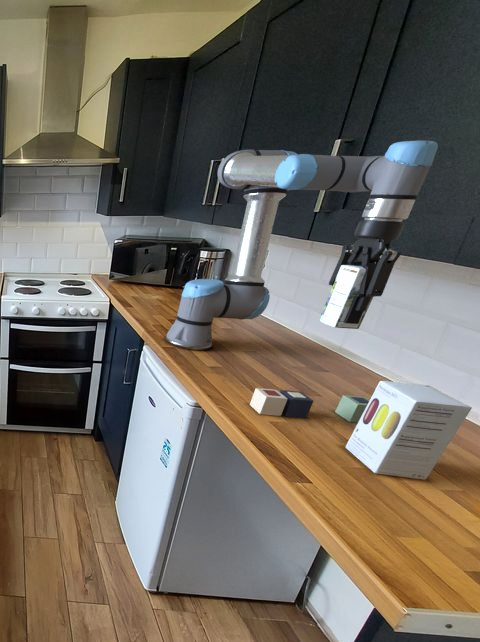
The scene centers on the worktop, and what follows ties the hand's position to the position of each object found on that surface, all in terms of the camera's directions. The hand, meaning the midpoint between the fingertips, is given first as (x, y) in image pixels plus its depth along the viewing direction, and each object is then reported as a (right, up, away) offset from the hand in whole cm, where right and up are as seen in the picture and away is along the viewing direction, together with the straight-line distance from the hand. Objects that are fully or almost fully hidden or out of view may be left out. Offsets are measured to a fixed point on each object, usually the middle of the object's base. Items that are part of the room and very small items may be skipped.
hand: (340, 319), depth 99 cm
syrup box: (0, -2, +1) cm, 2 cm away
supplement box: (-5, -32, -15) cm, 36 cm away
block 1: (-16, -23, +4) cm, 28 cm away
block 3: (+5, -25, +2) cm, 25 cm away
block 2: (-10, -23, +4) cm, 26 cm away
